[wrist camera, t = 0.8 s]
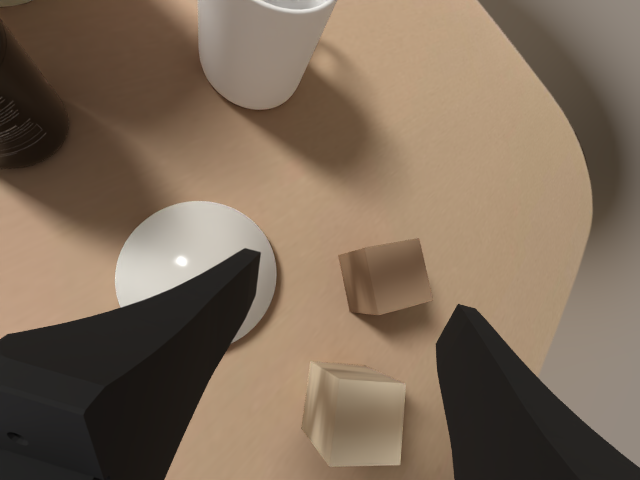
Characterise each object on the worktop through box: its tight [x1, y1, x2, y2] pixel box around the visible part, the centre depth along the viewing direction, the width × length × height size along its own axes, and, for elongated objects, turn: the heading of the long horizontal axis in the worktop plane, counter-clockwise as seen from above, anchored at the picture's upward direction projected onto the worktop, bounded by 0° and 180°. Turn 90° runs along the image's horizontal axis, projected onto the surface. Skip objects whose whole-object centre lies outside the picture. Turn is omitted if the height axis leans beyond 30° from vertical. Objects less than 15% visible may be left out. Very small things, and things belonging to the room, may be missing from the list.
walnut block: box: [338, 238, 433, 315], centre depth 27 cm, size 5×5×5 cm
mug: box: [198, 0, 337, 110], centre depth 24 cm, size 9×12×11 cm
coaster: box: [115, 201, 277, 343], centre depth 24 cm, size 11×11×1 cm
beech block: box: [301, 361, 406, 467], centre depth 23 cm, size 5×5×6 cm
